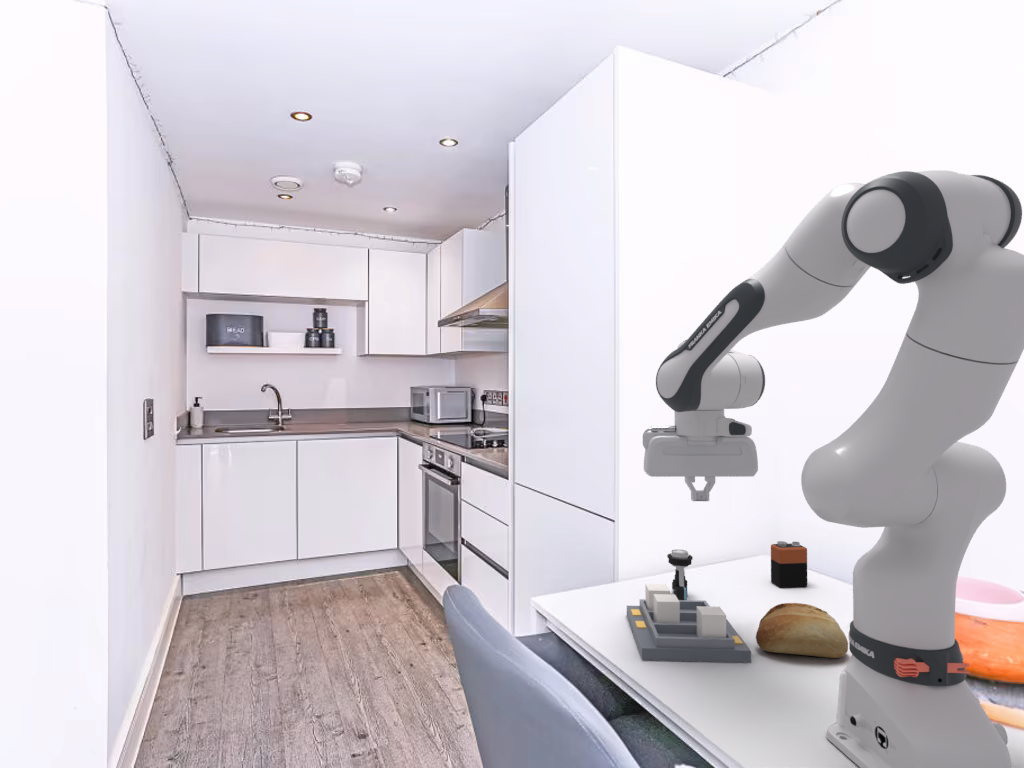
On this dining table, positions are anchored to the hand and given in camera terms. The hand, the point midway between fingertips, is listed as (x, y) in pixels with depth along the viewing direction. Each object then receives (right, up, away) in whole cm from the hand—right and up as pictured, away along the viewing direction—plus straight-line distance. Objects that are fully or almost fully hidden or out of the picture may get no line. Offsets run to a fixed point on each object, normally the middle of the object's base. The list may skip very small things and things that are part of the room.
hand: (700, 500), depth 111 cm
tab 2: (-6, -23, 0) cm, 24 cm away
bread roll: (+15, -25, -7) cm, 30 cm away
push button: (+2, -25, +22) cm, 33 cm away
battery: (+30, -25, +29) cm, 48 cm away
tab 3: (0, -23, -6) cm, 24 cm away
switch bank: (-3, -25, 0) cm, 25 cm away
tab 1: (-6, -23, +6) cm, 25 cm away
